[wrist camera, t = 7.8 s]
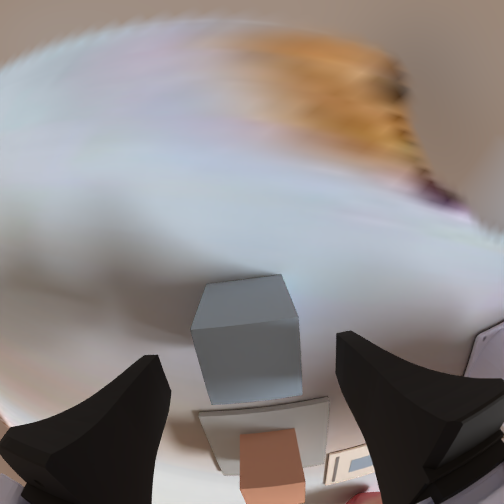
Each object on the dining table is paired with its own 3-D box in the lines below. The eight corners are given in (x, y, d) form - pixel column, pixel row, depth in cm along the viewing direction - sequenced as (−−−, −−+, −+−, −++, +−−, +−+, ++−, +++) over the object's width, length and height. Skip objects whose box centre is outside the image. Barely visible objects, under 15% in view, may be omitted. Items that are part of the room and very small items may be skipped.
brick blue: (281, 274, 15) (298, 317, 10) (287, 338, 16) (302, 394, 11) (206, 283, 15) (190, 329, 10) (219, 346, 16) (211, 404, 11)
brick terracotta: (296, 455, 18) (304, 502, 13) (247, 460, 18) (248, 508, 13) (294, 428, 17) (305, 481, 12) (239, 434, 17) (239, 488, 12)
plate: (327, 396, 17) (329, 401, 16) (323, 459, 19) (324, 463, 19) (199, 411, 17) (198, 416, 16) (224, 471, 19) (223, 475, 19)
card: (425, 421, 19) (426, 423, 19) (408, 457, 20) (409, 459, 20) (329, 453, 19) (329, 455, 19) (324, 484, 21) (325, 485, 20)
